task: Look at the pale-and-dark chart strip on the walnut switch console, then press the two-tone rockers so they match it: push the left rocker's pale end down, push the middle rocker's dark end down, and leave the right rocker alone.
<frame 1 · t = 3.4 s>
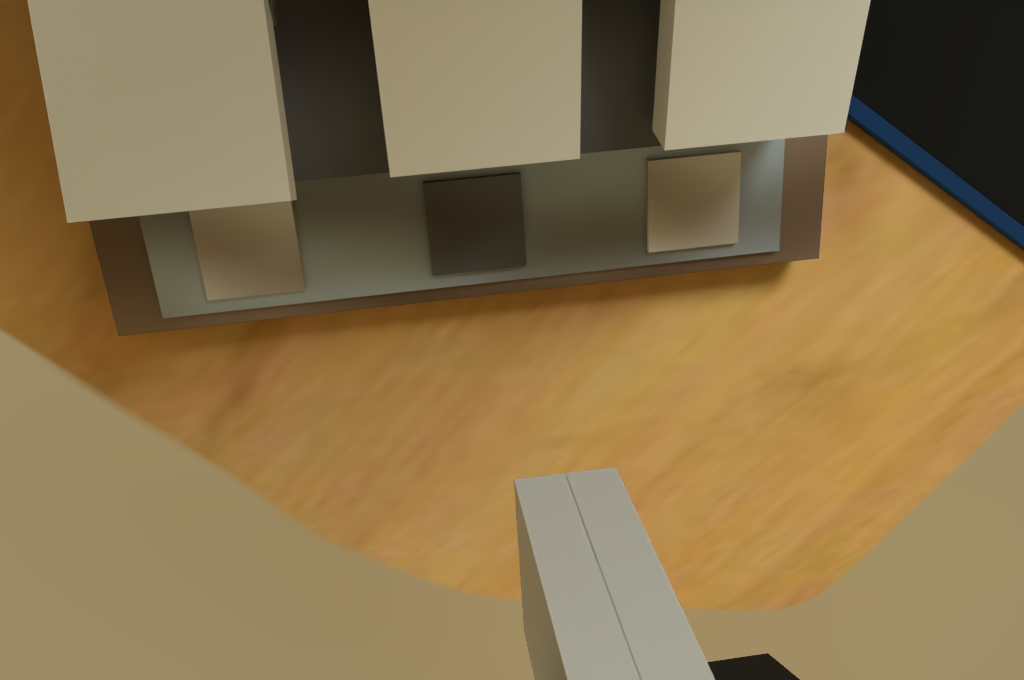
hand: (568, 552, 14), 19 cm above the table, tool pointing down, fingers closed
cell phone: (978, 76, 32), on the table
switch console: (455, 35, 29), on the table
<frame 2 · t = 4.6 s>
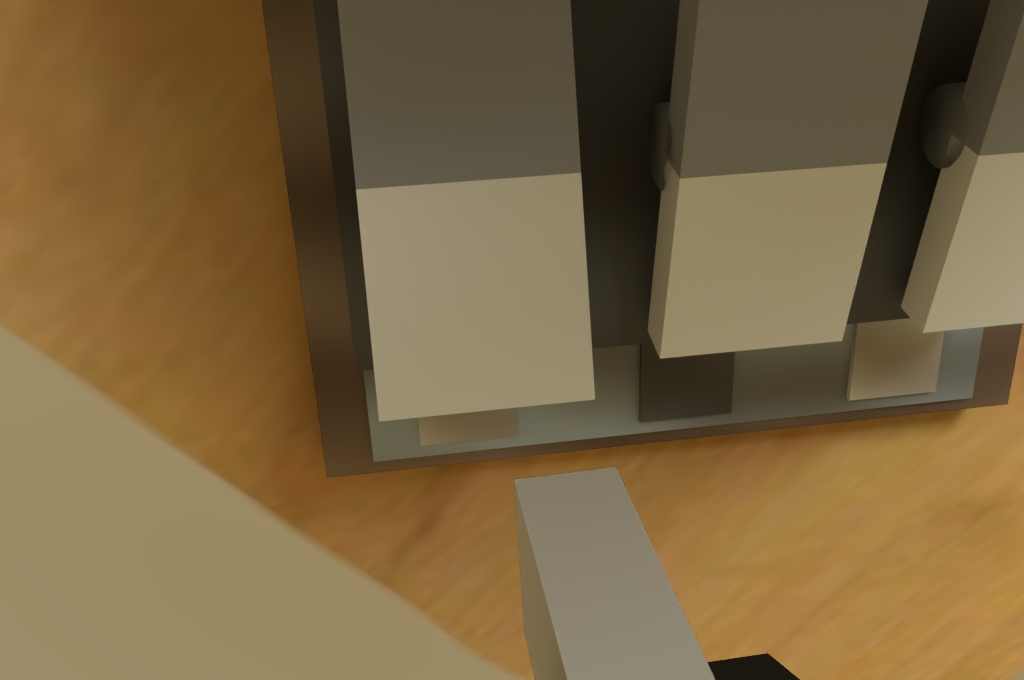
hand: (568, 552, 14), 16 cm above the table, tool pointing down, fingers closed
switch console: (674, 189, 29), on the table
middle rocker: (763, 145, 22), point 7 cm above the table, hinge at 14.0°
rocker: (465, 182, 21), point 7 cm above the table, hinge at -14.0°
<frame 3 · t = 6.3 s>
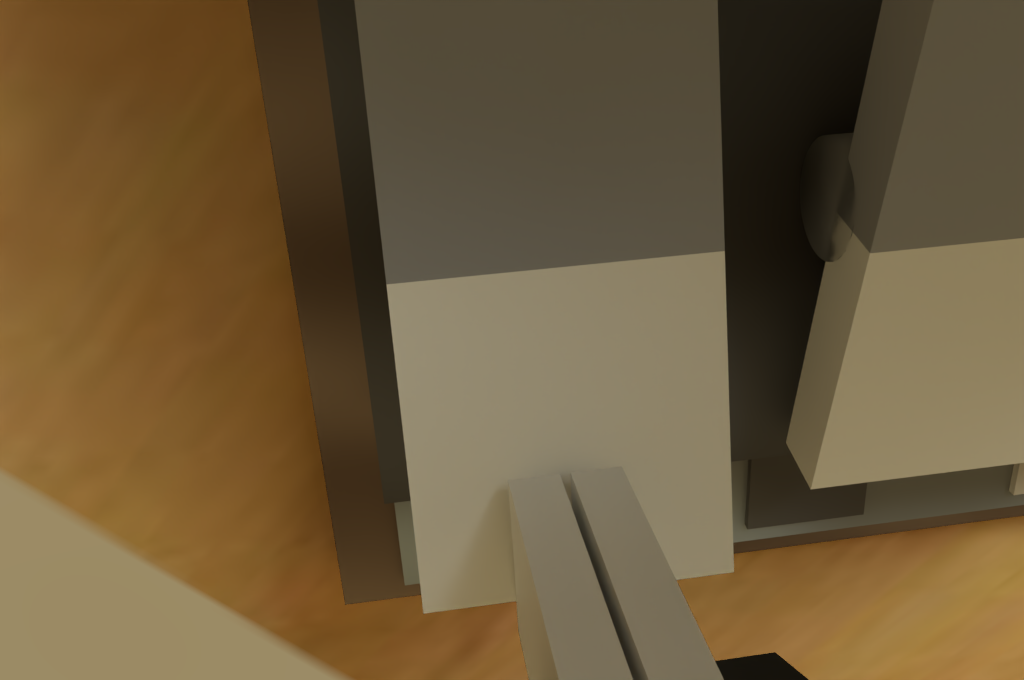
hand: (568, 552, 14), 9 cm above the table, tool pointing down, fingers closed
switch console: (794, 229, 22), on the table
middle rocker: (978, 194, 15), point 7 cm above the table, hinge at 14.0°
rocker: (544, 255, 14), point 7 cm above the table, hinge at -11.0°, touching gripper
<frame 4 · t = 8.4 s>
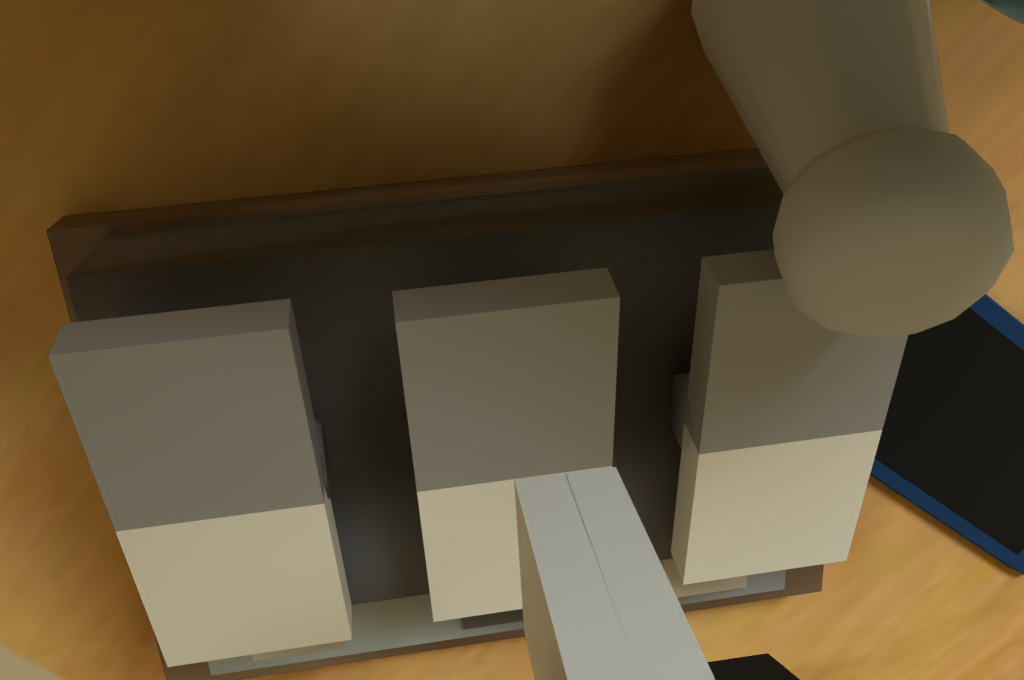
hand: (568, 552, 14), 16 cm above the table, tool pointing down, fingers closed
cell phone: (966, 416, 35), on the table
switch console: (484, 415, 31), on the table
middle rocker: (507, 442, 24), point 7 cm above the table, hinge at 14.0°
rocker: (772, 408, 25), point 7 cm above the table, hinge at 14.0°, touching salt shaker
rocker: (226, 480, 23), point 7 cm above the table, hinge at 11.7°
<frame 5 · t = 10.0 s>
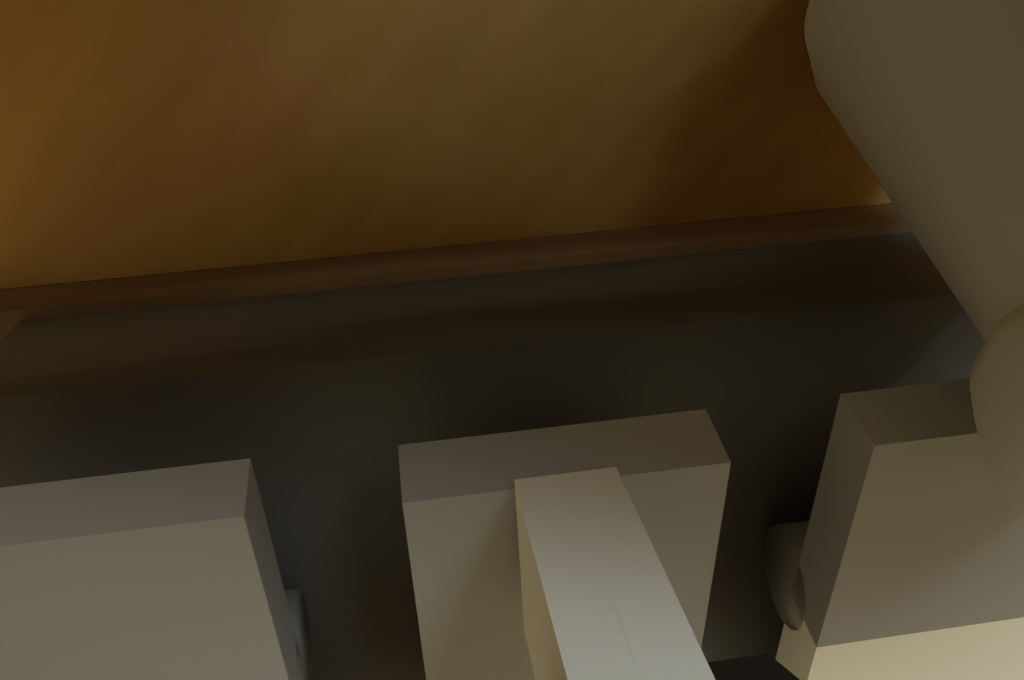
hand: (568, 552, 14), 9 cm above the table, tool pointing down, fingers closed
switch console: (511, 532, 25), on the table
middle rocker: (552, 622, 18), point 7 cm above the table, hinge at 13.8°, touching gripper
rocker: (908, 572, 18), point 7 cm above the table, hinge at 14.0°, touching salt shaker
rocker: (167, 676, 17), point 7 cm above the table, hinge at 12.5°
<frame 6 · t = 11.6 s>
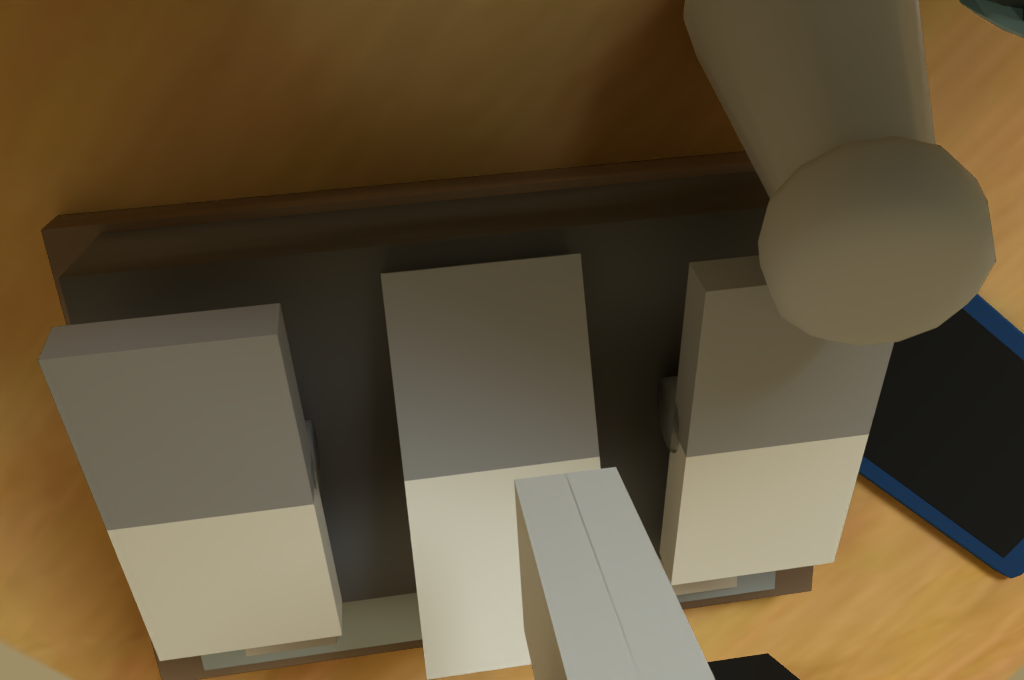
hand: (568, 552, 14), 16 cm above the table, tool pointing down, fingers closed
cell phone: (957, 419, 35), on the table
switch console: (476, 415, 31), on the table
middle rocker: (497, 457, 24), point 7 cm above the table, hinge at -17.8°
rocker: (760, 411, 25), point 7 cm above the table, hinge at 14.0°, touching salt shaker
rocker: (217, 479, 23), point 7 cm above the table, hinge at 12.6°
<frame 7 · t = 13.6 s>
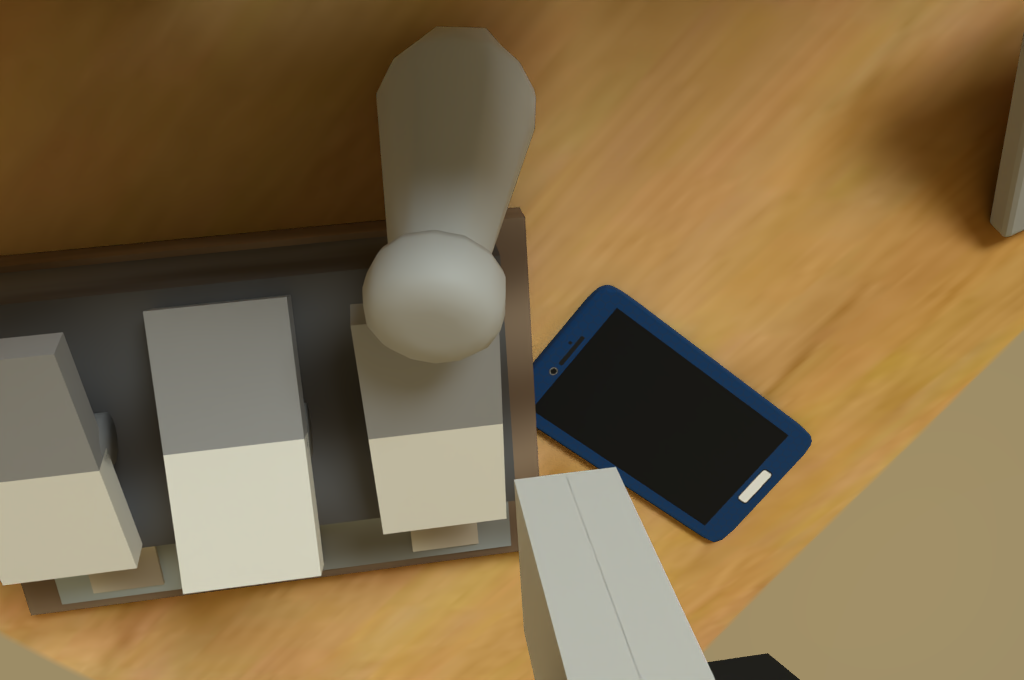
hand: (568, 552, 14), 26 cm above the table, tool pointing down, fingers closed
cell phone: (660, 414, 45), on the table
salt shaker: (462, 68, 36), point 1 cm above the table, touching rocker
switch console: (269, 410, 41), on the table
middle rocker: (240, 439, 34), point 7 cm above the table, hinge at -16.6°
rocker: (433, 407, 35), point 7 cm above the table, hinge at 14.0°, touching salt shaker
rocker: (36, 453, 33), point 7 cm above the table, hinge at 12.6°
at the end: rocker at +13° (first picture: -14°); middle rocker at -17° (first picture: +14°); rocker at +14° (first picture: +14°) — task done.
